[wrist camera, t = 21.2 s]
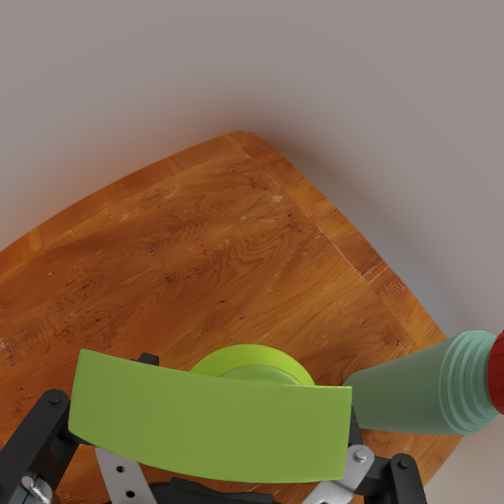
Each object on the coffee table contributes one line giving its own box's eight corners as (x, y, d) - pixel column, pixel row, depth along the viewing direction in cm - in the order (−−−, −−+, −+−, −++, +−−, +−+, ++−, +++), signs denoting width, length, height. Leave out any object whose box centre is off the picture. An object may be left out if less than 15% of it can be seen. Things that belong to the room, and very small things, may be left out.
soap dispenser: (196, 365, 23) (96, 249, 5) (277, 375, 23) (418, 290, 5) (187, 430, 20) (53, 512, 3) (270, 440, 20) (400, 544, 3)
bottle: (398, 381, 23) (572, 318, 6) (377, 434, 20) (561, 432, 4) (351, 360, 24) (521, 270, 7) (326, 416, 21) (509, 416, 5)
